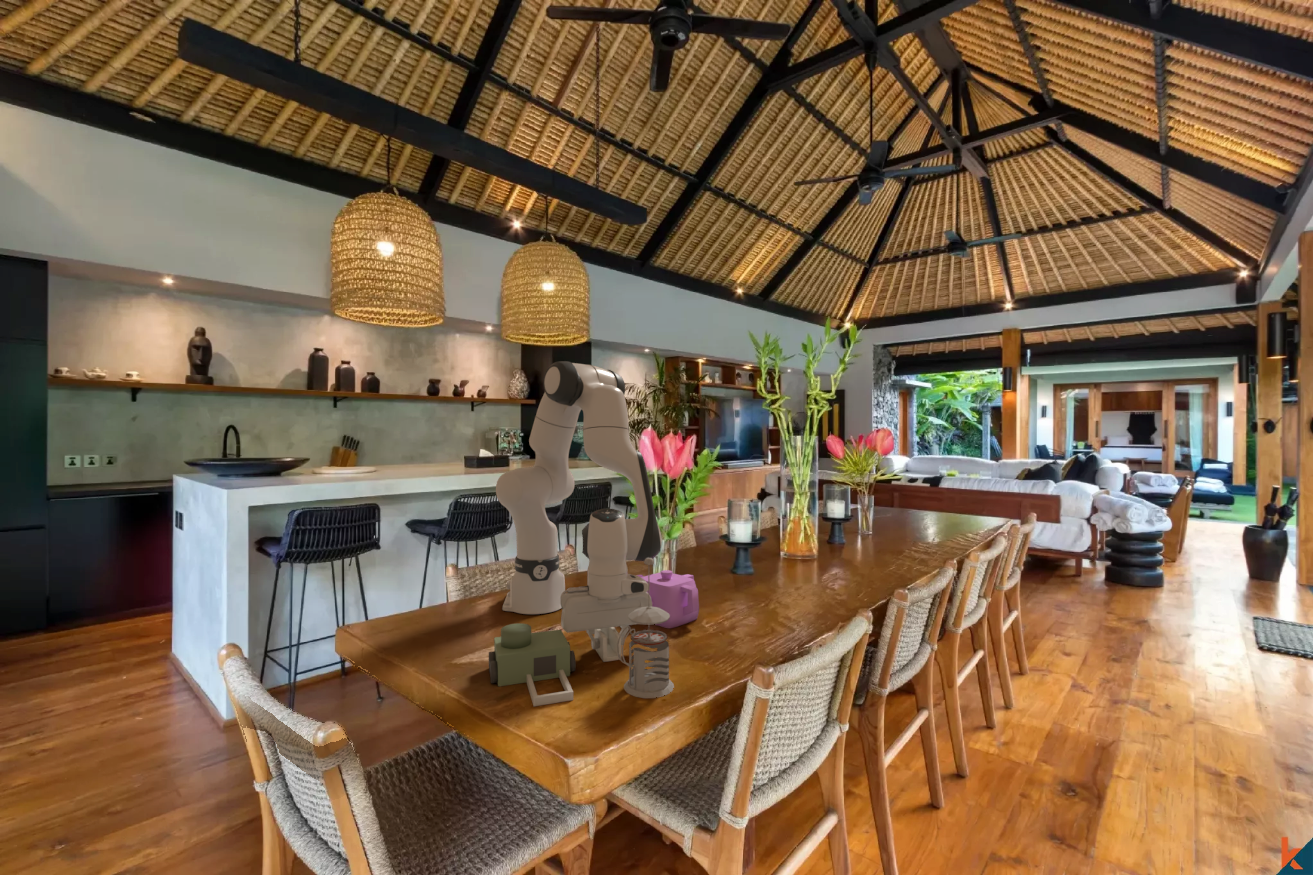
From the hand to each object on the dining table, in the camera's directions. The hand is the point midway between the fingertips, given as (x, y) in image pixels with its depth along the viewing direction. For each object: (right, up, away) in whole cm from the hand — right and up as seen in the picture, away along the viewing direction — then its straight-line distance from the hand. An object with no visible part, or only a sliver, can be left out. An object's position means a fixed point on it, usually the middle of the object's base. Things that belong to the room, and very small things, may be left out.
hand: (607, 646), depth 126 cm
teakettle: (+13, -1, +24) cm, 27 cm away
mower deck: (-13, -2, -14) cm, 19 cm away
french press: (+9, -2, -16) cm, 18 cm away
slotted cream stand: (0, -2, 0) cm, 2 cm away
